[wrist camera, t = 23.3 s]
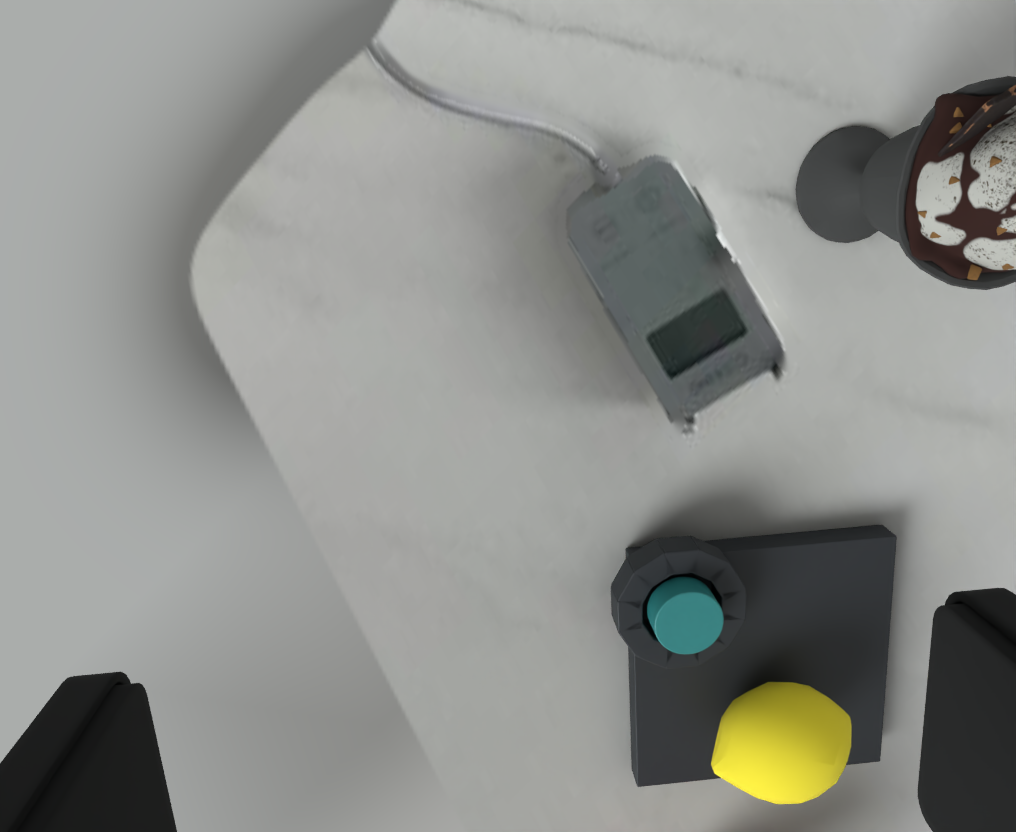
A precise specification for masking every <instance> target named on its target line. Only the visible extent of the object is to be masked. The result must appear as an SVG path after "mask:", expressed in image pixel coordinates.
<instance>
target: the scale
mask: <svg viewBox="0 0 1016 832" xmlns="http://www.w3.org/2000/svg"><path fill="white" fill-rule="evenodd" d="M896 538H897V537H896V535H895V534H893V533H892V532H891V531H889V530H888V529H887V528H886V527H884V526H883V525H875V526H864V527H853V528H842V529H831V530H820V531H809V532H798V533H787V534H776V535H765V536H754V537H743V538H732V539H721V540H710V541H702V540H699V539H697V538H695V537H693V536H681V537H670V538H659V539H654V540H653V541H651V542H650V543H648V544H646V545H645V546H643V547H633V548H626V560H625V561H624V563H623V565H622V567H621V569H620V570H619V572H618V574H617V576H616V577H615V579H614V581H613V583H612V586H611V607H612V616H613V619H614V622H615V625H616V627H617V630H618V633H619V634H620V636H621V637H622V638H623V640H624V641H625V643H626V644H627V645H628V651H629V687H630V723H631V760H632V771H633V774H634V778H635V781H636V784H637V786H638V787H641V786H651V785H660V784H670V783H679V782H688V781H698V780H707V779H717V778H721V777H719V776H718V775H716V774H714V772H713V770H712V767H711V761H712V756H713V751H714V747H715V742H716V738H717V733H718V729H719V725H720V721H721V717H722V716H723V714H724V713H725V711H726V710H727V708H728V707H729V705H730V704H731V703H732V701H733V700H734V699H736V698H738V697H739V696H741V695H743V694H744V693H746V692H748V691H750V690H752V689H754V688H756V687H758V686H760V685H763V684H765V683H767V682H793V683H798V684H803V685H808V686H810V687H812V688H813V689H815V690H817V691H818V692H820V693H822V694H823V695H825V696H827V697H828V698H830V699H831V700H832V701H833V702H835V703H836V704H837V705H838V706H839V707H841V708H842V709H843V710H844V711H845V712H846V713H847V714H848V715H849V717H850V720H851V726H852V728H851V749H850V753H849V757H848V761H847V763H846V765H850V764H859V763H869V762H878V761H880V755H881V742H882V728H883V715H884V701H885V688H886V674H887V660H888V647H889V633H890V620H891V606H892V592H893V579H894V565H895V552H896ZM676 577H691V578H695V579H698V580H699V581H701V582H703V583H704V584H705V585H706V586H707V587H708V588H709V589H710V591H711V592H712V594H713V595H714V597H715V598H716V600H717V602H718V603H719V605H720V607H721V609H722V611H723V616H724V623H723V628H722V631H721V633H720V635H719V637H718V638H717V640H716V641H715V642H714V643H713V644H712V645H711V646H709V647H708V648H706V649H705V650H703V651H700V652H698V653H694V654H678V653H674V652H672V651H670V650H668V649H666V648H665V647H664V646H663V645H662V644H661V643H660V642H659V641H658V639H657V637H656V635H655V633H654V630H653V628H652V626H651V624H650V622H649V619H648V615H647V605H648V601H649V599H650V596H651V595H652V593H653V592H654V590H655V589H656V588H657V587H658V586H659V585H661V584H662V583H663V582H665V581H667V580H669V579H672V578H676Z"/></svg>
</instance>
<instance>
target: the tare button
mask: <svg viewBox="0 0 1016 832" xmlns="http://www.w3.org/2000/svg"><path fill="white" fill-rule="evenodd" d="M647 615H648V619H649V622H650V624H651V626H652V628H653V630H654V633H655V635H656V637H657V639H658V641H659V642H660V643H661V644H662V645H663V646H664V647H665V648H666V649H668V650H670V651H672V652H674V653H678V654H694V653H698V652H700V651H703V650H705V649H706V648H708V647H709V646H711V645H712V644H713V643H714V642H715V641H716V640H717V638H718V637H719V635H720V633H721V631H722V628H723V623H724V616H723V611H722V609H721V607H720V605H719V603H718V602H717V600H716V598H715V597H714V595H713V594H712V592H711V591H710V589H709V588H708V587H707V586H706V585H705V584H704V583H703V582H701V581H699V580H698V579H695V578H691V577H676V578H672V579H669V580H667V581H665V582H663V583H662V584H661V585H659V586H658V587H657V588H656V589H655V590H654V592H653V593H652V595H651V596H650V599H649V601H648V605H647Z"/></svg>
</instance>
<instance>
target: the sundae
mask: <svg viewBox="0 0 1016 832" xmlns="http://www.w3.org/2000/svg"><path fill="white" fill-rule="evenodd" d="M796 198H797V204H798V208H799V212H800V214H801V216H802V218H803V219H804V221H805V222H806V224H807V225H808V227H809V228H810V229H811V230H812V231H814V232H815V233H816V234H818V235H819V236H821V237H823V238H825V239H826V240H830V241H835V242H843V243H849V242H854V241H859V240H862V239H865V238H867V237H870V236H871V235H873V234H874V233H876V232H877V231H880V232H882V233H883V234H885V235H887V236H888V237H890V238H891V239H893V240H895V241H897V242H899V243H900V246H901V248H902V249H903V251H904V253H905V254H906V256H907V257H908V258H909V259H910V260H911V261H913V262H914V263H915V264H916V265H917V266H918V267H919V268H920V269H921V270H923V271H925V272H926V273H928V274H930V275H931V276H933V277H935V278H937V279H939V280H941V281H943V282H945V283H947V284H950V285H953V286H958V287H963V288H968V289H981V290H988V289H993V288H997V287H1002V286H1005V285H1008V284H1011V283H1014V282H1016V77H1010V76H1007V77H1001V78H995V79H990V80H985V81H981V82H978V83H974V84H970V85H967V86H965V87H963V88H961V89H959V90H957V91H955V92H953V93H948V94H942V95H941V96H939V97H938V98H937V99H936V102H935V106H934V107H933V108H932V109H931V111H930V112H929V113H928V114H927V115H926V116H925V117H924V119H923V121H922V123H921V125H919V126H916V127H913V128H911V129H909V130H907V131H905V132H903V133H901V134H899V135H897V136H896V137H894V138H892V139H889V138H888V137H886V136H885V135H884V134H882V133H881V132H879V131H877V130H875V129H872V128H867V127H860V126H851V127H847V128H842V129H839V130H836V131H834V132H831V133H830V134H828V135H827V136H825V137H824V138H822V139H821V140H820V141H819V142H818V143H817V144H816V145H814V146H813V148H812V149H811V150H810V152H809V153H808V155H807V156H806V158H805V160H804V161H803V163H802V165H801V167H800V171H799V174H798V178H797V184H796Z"/></svg>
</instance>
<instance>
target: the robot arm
mask: <svg viewBox="0 0 1016 832" xmlns="http://www.w3.org/2000/svg"><path fill="white" fill-rule="evenodd" d="M918 799H919V805H920V808H921V811H922V814H923V816H924V818H925V821H926V822H927V824H928V825H929V827H930V828H931V830H932V831H933V832H1016V595H1015V594H1014V593H1012V592H1011V591H1009V590H1007V589H1005V588H992V589H982V590H971V591H961V592H954V593H952V594H951V595H949V597H948V599H947V600H946V602H945V605H943V606H940V607H938V608H937V609H936V611H935V613H934V617H933V626H932V637H931V648H930V659H929V670H928V681H927V693H926V704H925V715H924V726H923V737H922V748H921V759H920V770H919V781H918ZM0 832H177V830H176V825H175V820H174V816H173V811H172V807H171V803H170V798H169V793H168V789H167V785H166V780H165V775H164V770H163V766H162V761H161V757H160V753H159V747H158V743H157V738H156V734H155V729H154V725H153V720H152V715H151V711H150V706H149V702H148V697H147V693H146V690H145V688H144V687H143V685H142V684H140V683H134V684H131V683H130V680H129V679H128V677H127V675H126V674H124V673H122V672H113V673H103V674H94V675H93V674H92V675H82V676H73V677H69V678H67V679H66V680H65V681H64V682H63V683H62V684H61V685H60V687H59V688H58V689H57V691H56V692H55V693H54V694H53V696H52V697H51V698H50V700H49V701H48V702H47V703H46V705H45V706H44V707H43V709H42V710H41V711H40V713H39V714H38V715H37V716H36V718H35V719H34V721H33V722H32V723H31V724H30V726H29V727H28V729H27V730H26V731H25V732H24V733H23V735H22V736H21V737H20V739H19V740H18V741H17V742H16V744H15V745H14V747H13V748H12V749H11V750H10V752H9V753H8V754H7V755H6V757H5V758H4V759H3V761H2V762H1V763H0Z"/></svg>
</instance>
